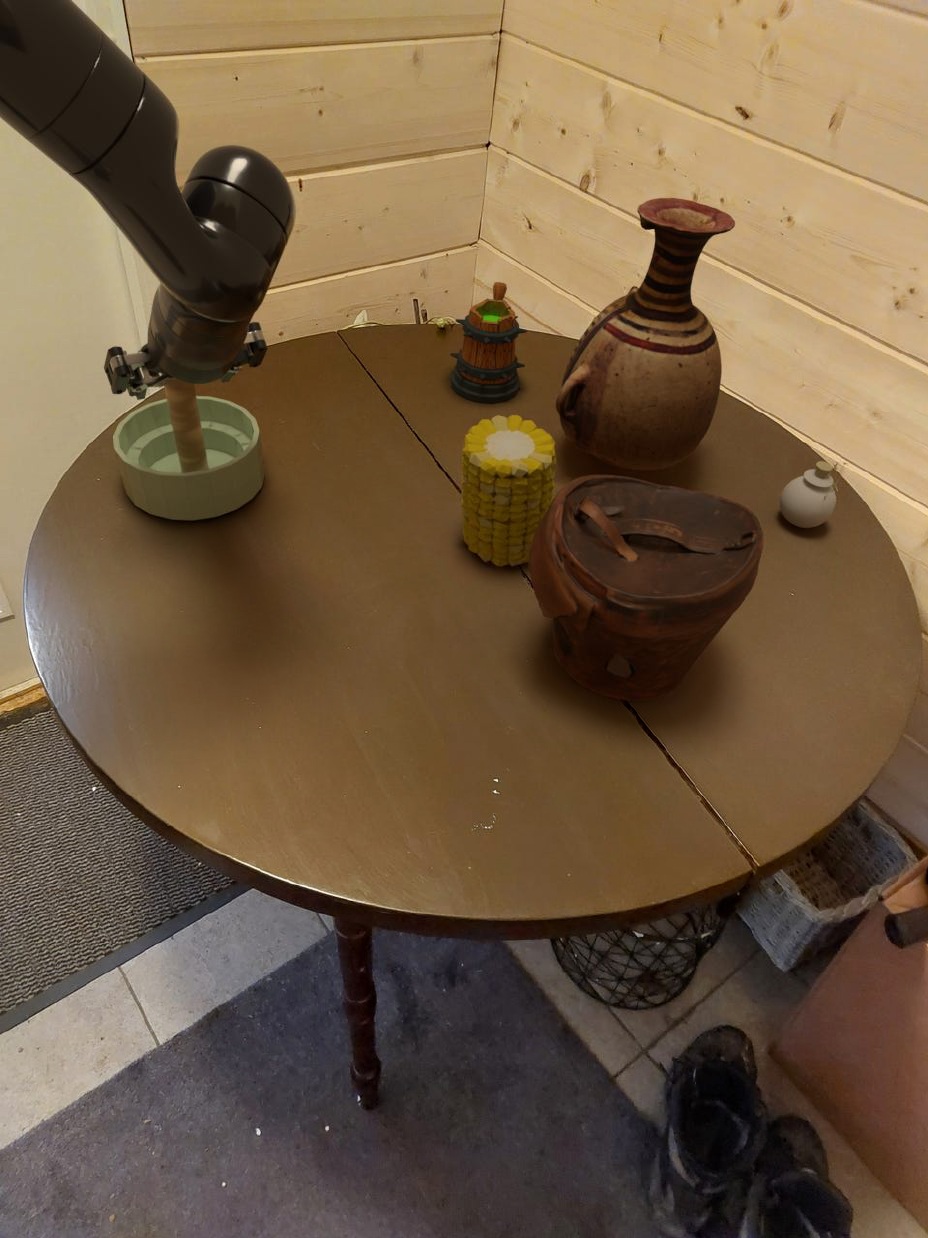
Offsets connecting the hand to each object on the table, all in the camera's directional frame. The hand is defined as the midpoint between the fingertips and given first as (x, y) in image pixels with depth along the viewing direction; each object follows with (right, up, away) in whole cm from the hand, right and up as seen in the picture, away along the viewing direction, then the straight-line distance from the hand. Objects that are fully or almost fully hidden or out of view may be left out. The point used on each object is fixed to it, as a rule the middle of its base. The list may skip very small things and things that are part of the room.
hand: (180, 381), depth 83 cm
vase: (+49, -4, +21) cm, 53 cm away
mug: (+32, +9, +32) cm, 46 cm away
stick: (-2, -8, +11) cm, 14 cm away
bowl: (-2, -8, +11) cm, 14 cm away
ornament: (+68, -13, +14) cm, 71 cm away
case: (+43, -27, -2) cm, 51 cm away
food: (+33, -16, +8) cm, 37 cm away
